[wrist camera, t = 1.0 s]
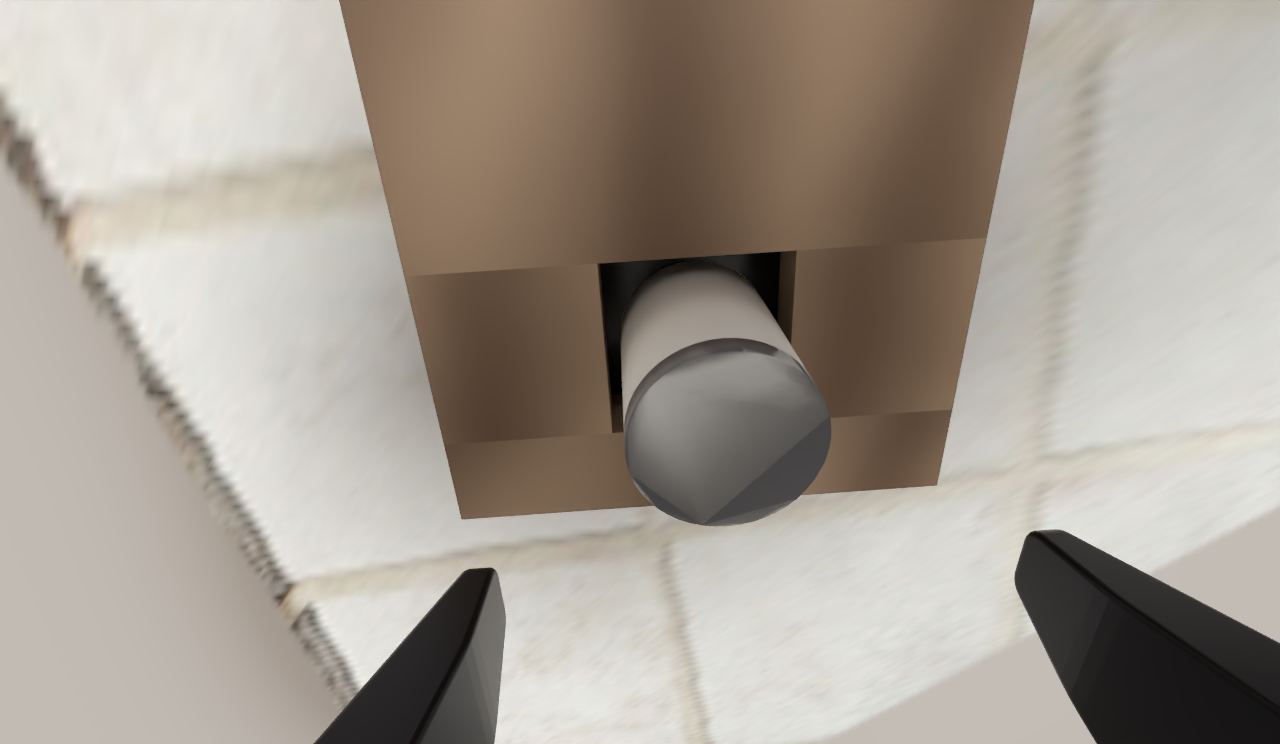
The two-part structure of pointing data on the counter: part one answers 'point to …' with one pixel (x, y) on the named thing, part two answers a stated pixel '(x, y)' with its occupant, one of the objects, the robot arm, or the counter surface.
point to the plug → (716, 399)
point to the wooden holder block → (684, 208)
